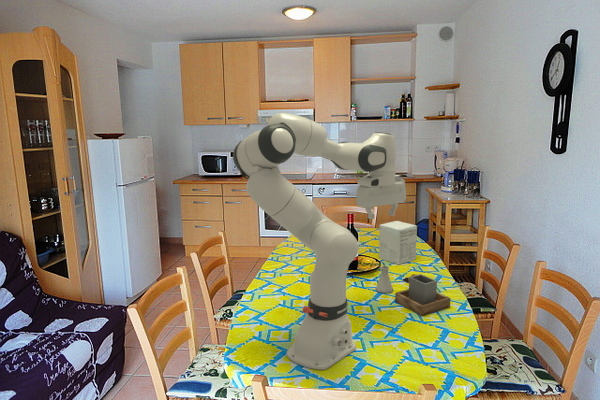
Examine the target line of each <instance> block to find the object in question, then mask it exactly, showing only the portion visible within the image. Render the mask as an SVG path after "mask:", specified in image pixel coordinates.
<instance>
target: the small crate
mask: <svg viewBox="0 0 600 400" xmlns="http://www.w3.org/2000/svg"><path fill="white" fill-rule="evenodd" d="M415 275H416V276H412V275H411V276H412V277H410V276H408V278H409V283H408V289H409V299H411V300H413V301H415V302H417V303H419V304H421V305H425V304H428V303H431V302H435V301H436V293H437V292H438V291H437V290H438V288H437V287H438V280H436V279H434V278H431V277H428V276H426V275H424V274H422V273H420V274H415Z"/></svg>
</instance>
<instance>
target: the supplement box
mask: <svg viewBox="0 0 600 400" xmlns="http://www.w3.org/2000/svg"><path fill="white" fill-rule="evenodd" d="M417 232H418V225H415V224H412V223H408V222H403V221H400V220H394V221H390V222H386V223H385V222H384V223H382V224H379V237H378V238H379V239H378V241H379V244H378V246H379V248H378V251H379V252H378V258H379V259H381V260H384V261H387V262H389V263H393V264H395V265H402V264H406V263H408V262H412V261H414V260H415V261H416V259H417V237H418V235H417V234H418V233H417Z"/></svg>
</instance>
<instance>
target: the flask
mask: <svg viewBox="0 0 600 400" xmlns="http://www.w3.org/2000/svg"><path fill="white" fill-rule="evenodd" d="M380 268H381V271H380V277H379V279H378V282H377V283H376V286H375V290H376V292H377V293H383V294H391V293H393V291H394V287H393V285H392V282H391V279H390V274H389V269H390V267H389V266H388V265H381V266H380Z"/></svg>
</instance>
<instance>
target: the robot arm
mask: <svg viewBox="0 0 600 400" xmlns="http://www.w3.org/2000/svg"><path fill="white" fill-rule="evenodd" d="M327 135H328V134H327V131H326V129H325V127H324V126H323V125H321V124H320V123H318V122H316V121H314V120H313V119H309V118H307V117H304V116H300V115H297V114H293V113H289V112H287V113H286V112H277V113H275V114H273V115H271V117H270V118H269V120H268V122H267V125H266V126H264V127H263V128H262V129H259V130H257V131H254V132H252V133H250V134H249V135H247V136H246V137H245V138H244V139H242V140H241V141H239V142H238V144H237V145H236V146H235V147H234V149H233V151H232V160H233V162H234V165H235V167H236V169H237V170H238V171H239V173H240V174H241V176H242V177H243V178H244V179H246V180H247V182H246V186H245V187H246V192H247V194H248V196H249V197H250V198H251V199H252V200H253V202H254V203H255V204H256V205H257V206H258V207H259V208H260V209H261V210H262V211H263V212H264V213H266V214H267V215H268V216H269V217H271V219H273V221H275V222H277V224H279V225H280V226H282V228H284V229H285V230H286V231H288V232H289V233H290V234H291V236H294V237H295V238H296V239H297V240H298V241H300V242H301V243H302V244H303V245H304V246H305V247H306V248H308V249H309V250H311V251H312V252H313V253H314V254H315V264H314V269H313V270H312V272H311V273H310V276H309V296H310V297H309V300H308V303H307V306H306V305H304V306H303V307H302V313H304V314H306V315H305V317H304V318H303V320H302V322H301V324H300V325H299V327H298V329H297V332H296V333H295V335H294V342H293V343H292V344H291V346H290V347H289V348H288V349H287V351H286V357H287V358H288V359H289V360H290V361H292V362H293V363H295V364H297V365H300V366H301V367H305V368H307V369H308V368H309V369H312V370H324V371H325V370H327V369H328V368H330V367H332V366H334V364H336V363H338V362H340V361H341V360H342V359H344V358H345V357H347V356H348V355H350V354H352V353H353V352H354V351H356V349H357V345H356V344H355V342H354V341H353V332H352V322H351V320H350V318H349V316H348V313H347V312H348V308H349V307H348V306H349V303H348V302H349V301H348V298H347V275H348V270H349V266H350V264H351V263H352V262H353V261H354V260H355V259H356V257H357V256H358V251H359V242H358V240H357V238H356V237H355V236H354V234H353V233H352V232H351V231H350V230H349V229H348V228H346V227H344V226H342V225H340V224H339V223H337V222H335V221H333V220H331V219H330V218H329V217H327V215H325V214H324V213H323V211H321V210H320V208H318V207H317V206H316V203H314V202H313V200H311V199H310V198H309V197H308V196H307V195H305V194H304V193H303V192H302V191H301V190H300V189H299V188H298V187H296V185H295V184H294V183H292V182H291V181H289V180H288V179H287V178H286V177H284V175H283V174H282V172H281V171H280V167H279V165H280V164H283V163H286V162H288V160H289V159H290V158H291V157H292V156H293V155H294V154H296V155H299V156H302V157H303V156H304V157H309V158H310V157H312V158H313V157H315V158H316V157H317V156H318V157H320V158H324V159H325V160H329V161H330V162H331V163H333V165H334V166H335V167H336V168H338V169H340V170H343V171H354V172H355V171H356V172H362V173H368V174H365V175H364V176H361V177H360V178H358V179H357V185H358V186H357V189H356V195H355V196H356V197H355V204H356V206H357V207H358V208H363V209H365V211H366V213H367V219H369V220H374V219H375V213H373V212H372V210H373V208H374V207H381V206H387V205H390V206H391V208H390V209H389V210H388V216H390V217H393V216H395V215H396V210H397V208H398V207H399V204H400V203H401V204H402V203H405V202H406V200H407V188H406V181H405V179H404V178H403V177H402V176H398V177H396V166H395V161H396V159H397V157H396V156H397V155H396V154H397V149H396V148H397V147H396V139H395V136H394V135H393V134H391V133H388V132H379V131H378V132H373V133H372V135H371V136H370V137H369V138H368V139H366V140H364V141H363V142H350V141H340V142H335V141H332V140H330V139H328V136H327Z"/></svg>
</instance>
